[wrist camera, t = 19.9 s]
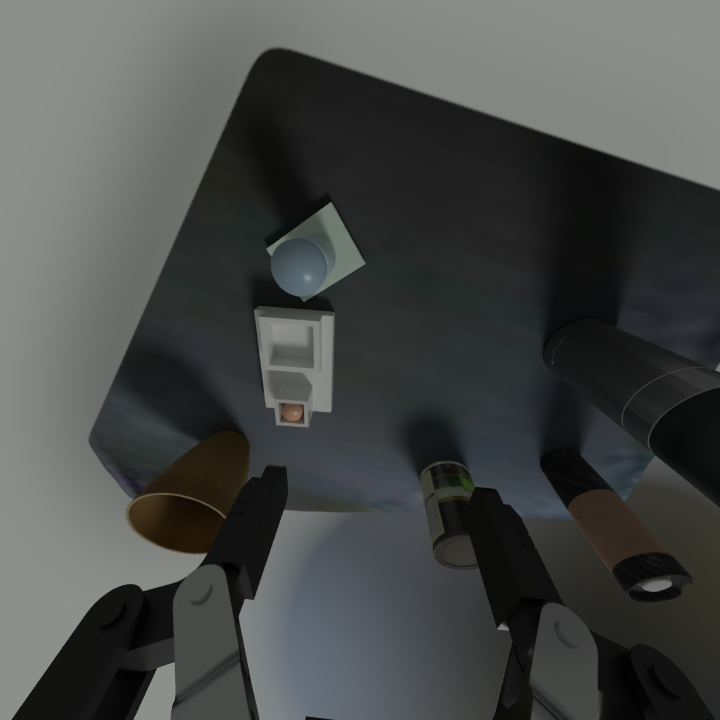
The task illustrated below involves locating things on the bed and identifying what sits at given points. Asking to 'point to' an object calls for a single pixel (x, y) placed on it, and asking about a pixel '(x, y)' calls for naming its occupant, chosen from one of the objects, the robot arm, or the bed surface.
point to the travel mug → (615, 530)
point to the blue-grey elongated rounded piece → (303, 264)
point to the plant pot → (192, 495)
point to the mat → (337, 234)
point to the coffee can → (449, 513)
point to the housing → (296, 359)
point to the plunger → (292, 411)
